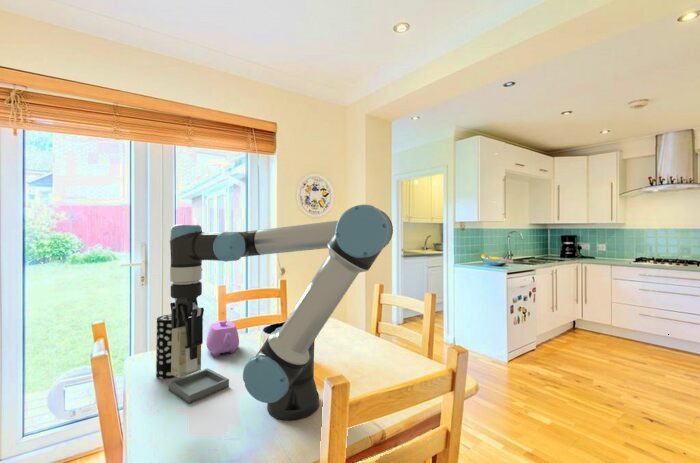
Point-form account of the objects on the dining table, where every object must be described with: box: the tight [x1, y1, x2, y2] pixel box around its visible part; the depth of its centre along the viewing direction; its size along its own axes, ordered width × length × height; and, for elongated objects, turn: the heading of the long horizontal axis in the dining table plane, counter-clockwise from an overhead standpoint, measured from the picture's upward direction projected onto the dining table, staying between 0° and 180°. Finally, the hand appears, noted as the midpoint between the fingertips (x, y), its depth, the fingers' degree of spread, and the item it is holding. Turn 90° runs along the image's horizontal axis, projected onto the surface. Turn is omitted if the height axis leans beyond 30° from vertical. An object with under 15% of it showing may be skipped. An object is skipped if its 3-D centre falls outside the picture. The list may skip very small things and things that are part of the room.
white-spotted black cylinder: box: [155, 313, 177, 380], centre depth 113 cm, size 8×8×20 cm
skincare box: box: [171, 326, 202, 379], centre depth 87 cm, size 6×4×12 cm
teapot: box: [205, 319, 240, 357], centre depth 134 cm, size 20×12×13 cm, turn 33°
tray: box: [168, 367, 230, 404], centre depth 103 cm, size 13×13×2 cm
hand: (186, 367), depth 87 cm, fingers closed on skincare box, 4 cm apart
